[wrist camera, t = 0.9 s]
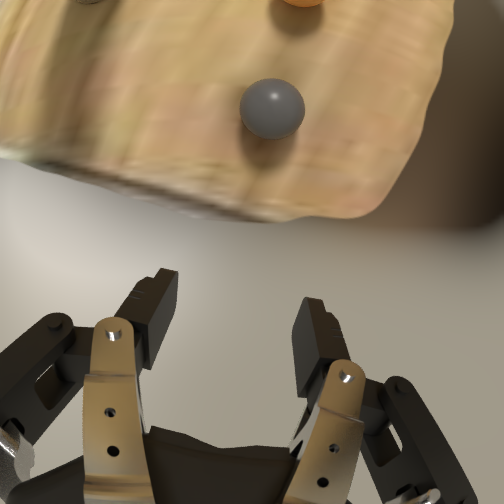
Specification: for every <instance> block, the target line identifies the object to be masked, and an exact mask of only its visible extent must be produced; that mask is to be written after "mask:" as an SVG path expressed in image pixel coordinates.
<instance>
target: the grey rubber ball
mask: <svg viewBox="0 0 504 504" xmlns="http://www.w3.org/2000/svg"><path fill="white" fill-rule="evenodd" d="M240 115H241V119H242V121H243V123H244V125H245V126H246V127H247V128H248V129H249V130H250V131H251V132H252V133H253V134H255V135H257V136H259V137H261V138H264V139H272V140H275V139H281V138H284V137H287V136H289V135H291V134H292V133H294V132H295V131H296V130H297V129H298V128H299V126H300V125H301V123H302V121H303V119H304V115H305V104H304V101H303V98H302V96H301V94H300V93H299V91H298V90H297V89H296V88H295V87H294V86H293V85H291V84H290V83H288V82H286V81H283V80H280V79H272V78H270V79H263V80H260V81H257V82H255V83H254V84H252V85H251V86H250V87H249V88H248V89H247V90H246V91H245V92H244V94H243V96H242V98H241V101H240Z"/></svg>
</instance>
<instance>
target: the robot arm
mask: <svg viewBox="0 0 504 504" xmlns="http://www.w3.org/2000/svg"><path fill="white" fill-rule="evenodd" d="M76 1H78V2H80V3H84V4H91V3H95V2H98V1H101V0H76ZM177 288H178V271H173V270H169V269H164V268H160V270H159V271H158V273H157V274H156V276H155V277H154V278H151V277H145V278H144V279H142V280H140V281H139V282H137V284H136V285H135V287H134V288H133V290H132V291H131V292H130V294H129V296H128V297H127V298H126V299H125V301H124V302H123V304H122V305H121V306H120V308H119V310H118V311H117V312H116V314H115V315H114V317H108V318H105V319H102V320H101V321H99V322H98V323H97V324H96V325H95V327H76V326H74V325H73V322H72V319H71V318H70V317H69V316H68V315H66V314H64V313H51V314H48V315H46V316H44V317H43V318H42V319H41V320H39V321H38V322H37V323H36V324H34V325H33V326H32V327H31V328H29V329H28V330H27V331H26V332H25V333H23V334H22V335H21V336H20V337H19V338H18V339H16V340H15V341H14V342H13V343H12V344H10V345H9V346H8V347H7V348H6V349H5V350H3V351H2V352H1V353H0V497H1V499H2V500H3V501H4V502H5V503H6V504H352V503H351V502H350V501H349V500H347V496H348V493H349V490H350V487H351V483H352V480H353V476H354V472H355V468H356V464H357V460H358V456H359V452H360V451H361V453H362V455H363V458H364V460H365V462H366V465H367V467H368V470H369V472H370V474H371V476H372V479H373V481H374V484H375V486H376V489H377V491H378V494H379V496H380V498H381V501H382V503H383V504H478V500H477V497H476V495H475V493H474V490H473V488H472V486H471V484H470V482H469V480H468V479H467V477H466V475H465V473H464V471H463V469H462V467H461V465H460V463H459V462H458V460H457V458H456V456H455V454H454V453H453V451H452V449H451V447H450V446H449V444H448V442H447V440H446V438H445V437H444V435H443V433H442V432H441V430H440V428H439V426H438V425H437V423H436V421H435V420H434V418H433V416H432V415H431V413H430V412H429V410H428V408H427V407H426V405H425V404H424V402H423V400H422V399H421V397H420V395H419V394H418V392H417V391H416V389H415V388H414V386H413V385H412V384H411V382H409V381H408V380H407V379H405V378H403V377H400V376H392V377H390V378H388V379H387V381H386V382H385V383H384V384H383V383H379V382H377V381H374V380H370V379H367V378H366V376H365V373H364V371H363V369H361V367H360V366H359V365H357V364H356V363H354V362H352V361H351V359H350V356H349V353H348V350H347V346H346V343H345V340H344V338H343V334H342V331H341V328H340V325H339V322H338V320H337V319H336V318H335V317H334V315H333V314H332V313H329V312H326V310H325V307H324V303H323V301H322V300H321V299H315V298H309V297H305V298H304V299H303V301H302V304H301V307H300V309H299V312H298V315H297V317H296V320H295V323H294V325H293V330H292V346H293V355H294V364H295V374H296V384H297V394H298V397H301V398H307V402H308V403H307V405H306V407H305V408H304V410H303V413H302V415H301V417H300V420H299V422H298V425H297V427H296V429H295V432H294V434H293V436H292V439H291V441H290V443H289V445H288V447H287V448H286V447H269V446H258V445H256V446H247V447H236V448H217V447H214V446H212V445H209V444H207V443H204V442H202V441H200V440H198V439H195V438H193V437H191V436H189V435H186V434H183V433H179V432H175V431H171V430H166V429H163V428H159V427H156V426H151V429H150V432H149V433H146V428H145V423H144V417H143V409H142V402H141V392H140V383H139V375H140V373H141V371H142V368H144V369H148V370H151V368H152V366H153V363H154V361H155V358H156V356H157V353H158V351H159V349H160V346H161V344H162V341H163V339H164V337H165V334H166V332H167V329H168V327H169V324H170V322H171V320H172V318H173V315H174V312H175V308H176V302H177ZM51 365H52V366H51ZM49 366H51V367H50V368H49ZM48 368H49V369H48ZM46 369H48V370H47V371H46ZM45 371H46V372H45ZM44 372H45V373H44ZM43 373H44V374H43ZM42 374H43V375H42ZM40 375H42V376H41V377H40ZM38 377H40V378H39V379H38ZM37 379H38V380H37ZM36 380H37V381H36ZM83 386H84V388H83V454H84V455H82V456H80V457H78V458H76V459H74V460H72V461H70V462H68V463H66V464H64V465H62V466H59V467H57V468H55V469H53V470H51V471H48V472H46V473H44V474H41V475H39V476H37V477H34V478H32V479H30V468H32V467H33V466H34V457H35V456H34V449H33V445H34V444H35V443H36V442H37V440H38V439H39V438H40V437H41V435H42V434H43V433H44V432H45V430H46V429H47V428H48V427H49V426H50V424H51V423H52V422H53V421H54V420H55V418H56V417H57V416H58V415H59V413H60V412H61V411H62V410H63V409H64V408H65V406H66V405H67V404H68V403H69V402H70V400H72V398H73V397H74V396H75V395H76V394H77V392H78V391H79V390H80V389H81V388H82V387H83ZM391 424H392V425H393V426H394V428H395V430H396V432H397V434H398V436H399V438H400V440H401V442H402V446H403V447H402V451H400V449H399V447H398V445H397V443H396V441H395V439H394V437H393V435H392V433H391V431H390V429H389V426H390V425H391Z"/></svg>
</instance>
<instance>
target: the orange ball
mask: <svg viewBox="0 0 504 504" xmlns="http://www.w3.org/2000/svg"><path fill="white" fill-rule="evenodd" d="M283 1H285V2H287V3H289V4H291V5H294V6H299V7H311V6H315V5H318V4H320V3H322V2H323V1H325V0H283Z"/></svg>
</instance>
